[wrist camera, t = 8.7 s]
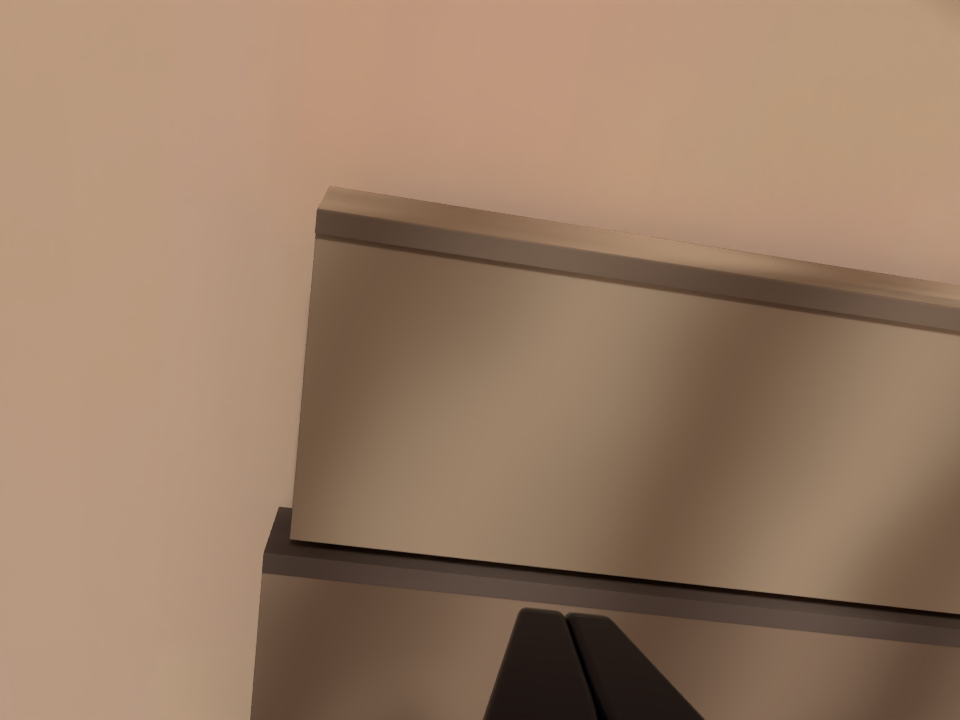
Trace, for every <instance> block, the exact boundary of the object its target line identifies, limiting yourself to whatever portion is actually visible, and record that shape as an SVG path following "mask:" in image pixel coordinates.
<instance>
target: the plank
mask: <svg viewBox="0 0 960 720" xmlns="http://www.w3.org/2000/svg"><path fill="white" fill-rule="evenodd" d="M315 233H316V237H315V249H314V261H313V272H312V284H311V296H310V308H309V319H308V331H307V343H306V355H305V367H304V378H303V390H302V402H301V414H300V426H299V437H298V449H297V461H296V473H295V484H294V496H293V508H292V520H291V532H290V539H293V540H302V541H311V542H320V543H329V544H338V545H347V546H355V547H364V548H373V549H382V550H391V551H400V552H409V553H418V554H427V555H436V556H445V557H454V558H463V559H472V560H481V561H489V562H498V563H507V564H516V565H525V566H534V567H543V568H552V569H561V570H570V571H579V572H588V573H597V574H606V575H615V576H624V577H632V578H641V579H650V580H659V581H668V582H677V583H686V584H695V585H704V586H713V587H722V588H731V589H740V590H749V591H758V592H766V593H775V594H784V595H793V596H802V597H811V598H820V599H829V600H838V601H847V602H856V603H865V604H874V605H883V606H892V607H901V608H909V609H918V610H927V611H936V612H945V613H954V614H960V286H957V285H951V284H945V283H938V282H932V281H926V280H919V279H913V278H907V277H900V276H894V275H888V274H881V273H875V272H869V271H862V270H856V269H850V268H843V267H837V266H831V265H825V264H818V263H812V262H806V261H799V260H793V259H787V258H780V257H774V256H768V255H761V254H755V253H749V252H742V251H736V250H730V249H724V248H717V247H711V246H705V245H698V244H692V243H686V242H679V241H673V240H667V239H660V238H654V237H648V236H641V235H635V234H629V233H623V232H616V231H610V230H604V229H597V228H591V227H585V226H578V225H572V224H566V223H559V222H553V221H547V220H540V219H534V218H528V217H522V216H515V215H509V214H503V213H496V212H490V211H484V210H477V209H471V208H465V207H458V206H452V205H446V204H439V203H433V202H427V201H421V200H414V199H408V198H402V197H395V196H389V195H383V194H376V193H370V192H364V191H357V190H351V189H345V188H338V187H332V186H330V187H329V189H328V190H327V192H326V194H325V196H324V198H323V200H322V202H321V204H320V205H319V207H318V209H317V217H316V228H315Z"/></svg>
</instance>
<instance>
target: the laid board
mask: <svg viewBox="0 0 960 720" xmlns="http://www.w3.org/2000/svg"><path fill="white" fill-rule="evenodd" d="M291 520H292V508H284V507H279V509H278V512H277V515H276V518H275V521H274V524H273V527H272V530H271V533H270V536H269V539H268V542H267V545H266V548H265V551H264V555H263V567H262V581H261V594H260V606H259V619H258V631H257V644H256V656H255V668H254V681H253V693H252V706H251V718H250V720H483V717H484V714H485V711H486V708H487V705H488V702H489V699H490V696H491V693H492V690H493V687H494V684H495V681H496V678H497V675H498V672H499V669H500V666H501V663H502V660H503V657H504V654H505V651H506V648H507V645H508V642H509V639H510V636H511V633H512V630H513V627H514V624H515V621H516V618H517V615H518V613H519V611H520V610H521V609H522V608H524V607H530V608H540V609H549V610H557V611H559V612H561V613H562V614H563V615H566V614H567V613H569V612H578V613H587V614H597V615H604V616H607V617H609V618H610V619H611V620H612V621H614V622H615V624H616V625H617V626H618V627H619V628H620V629H621V630H622V631H623V632H624V633H625V634H626V635H627V636H628V637H629V638H630V640H631V641H632V642H633V643H634V644H635V645H636V646H637V647H638V648H639V649H640V650H641V651H642V652H643V653H644V655H645V656H646V657H647V658H648V659H649V660H650V661H651V662H652V663H653V664H654V665H655V666H656V667H657V668H658V669H659V671H660V672H661V673H662V674H663V675H664V676H665V677H666V678H667V679H668V680H669V681H670V682H671V683H672V684H673V686H674V687H675V688H676V689H677V690H678V691H679V692H680V693H681V694H682V695H683V696H684V697H685V698H686V699H687V700H688V702H689V703H690V704H691V705H692V706H693V707H694V708H695V709H696V710H697V711H698V712H699V713H700V714H701V715H702V717H703V718H704V719H705V720H960V614H954V613H945V612H936V611H927V610H918V609H909V608H901V607H892V606H883V605H874V604H865V603H856V602H847V601H838V600H829V599H820V598H811V597H802V596H793V595H784V594H775V593H766V592H758V591H749V590H740V589H731V588H722V587H713V586H704V585H695V584H686V583H677V582H668V581H659V580H650V579H641V578H632V577H624V576H615V575H606V574H597V573H588V572H579V571H570V570H561V569H552V568H543V567H534V566H525V565H516V564H507V563H498V562H489V561H481V560H472V559H463V558H454V557H445V556H436V555H427V554H418V553H409V552H400V551H391V550H382V549H373V548H364V547H355V546H347V545H338V544H329V543H320V542H311V541H302V540H293V539H290V532H291Z"/></svg>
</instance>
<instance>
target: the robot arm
mask: <svg viewBox="0 0 960 720" xmlns="http://www.w3.org/2000/svg"><path fill="white" fill-rule="evenodd" d="M483 720H705V719H704V718H703V717H702V715H701V714H700V713H699V712H698V711H697V710H696V709H695V708H694V707H693V706H692V705H691V704H690V703H689V702H688V700H687V699H686V698H685V697H684V696H683V695H682V694H681V693H680V692H679V691H678V690H677V689H676V688H675V687H674V686H673V684H672V683H671V682H670V681H669V680H668V679H667V678H666V677H665V676H664V675H663V674H662V673H661V672H660V671H659V669H658V668H657V667H656V666H655V665H654V664H653V663H652V662H651V661H650V660H649V659H648V658H647V657H646V656H645V655H644V653H643V652H642V651H641V650H640V649H639V648H638V647H637V646H636V645H635V644H634V643H633V642H632V641H631V640H630V638H629V637H628V636H627V635H626V634H625V633H624V632H623V631H622V630H621V629H620V628H619V627H618V626H617V625H616V624H615V622H614V621H612V620H611V619H610V618H609V617H607V616H604V615H597V614H587V613H578V612H569V613H567V614H566V615H563V614H562V613H561V612H559V611H557V610H549V609H540V608H530V607H524V608H522V609H521V610H520V611H519V613H518V615H517V618H516V621H515V624H514V627H513V630H512V633H511V636H510V639H509V642H508V645H507V648H506V651H505V654H504V657H503V660H502V663H501V666H500V669H499V672H498V675H497V678H496V681H495V684H494V687H493V690H492V693H491V696H490V699H489V702H488V705H487V708H486V711H485V714H484V717H483Z"/></svg>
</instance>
